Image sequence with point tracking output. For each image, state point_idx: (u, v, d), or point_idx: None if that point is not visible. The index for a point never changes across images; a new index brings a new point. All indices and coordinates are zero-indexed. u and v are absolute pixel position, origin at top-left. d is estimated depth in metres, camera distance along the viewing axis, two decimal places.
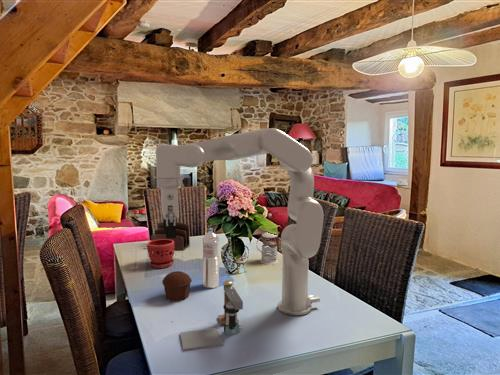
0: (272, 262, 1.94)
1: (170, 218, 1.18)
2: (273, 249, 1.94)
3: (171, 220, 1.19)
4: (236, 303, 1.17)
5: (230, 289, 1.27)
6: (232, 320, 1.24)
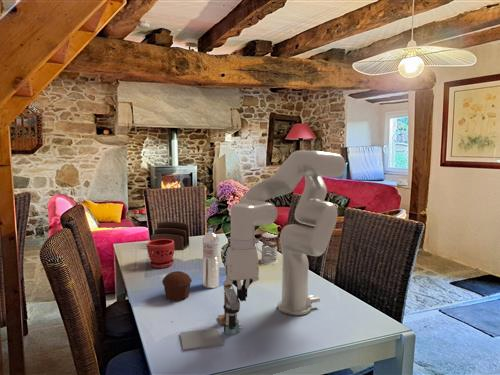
0: (272, 262, 1.94)
1: None
2: (273, 249, 1.94)
3: None
4: (233, 303, 1.17)
5: (229, 290, 1.27)
6: (232, 320, 1.24)
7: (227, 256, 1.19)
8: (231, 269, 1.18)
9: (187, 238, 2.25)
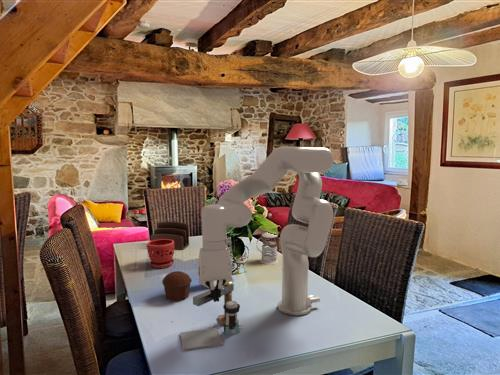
0: (272, 262, 1.94)
1: None
2: (273, 249, 1.94)
3: None
4: (193, 298, 1.21)
5: None
6: (232, 320, 1.24)
7: (199, 257, 1.20)
8: (203, 270, 1.18)
9: (187, 238, 2.25)
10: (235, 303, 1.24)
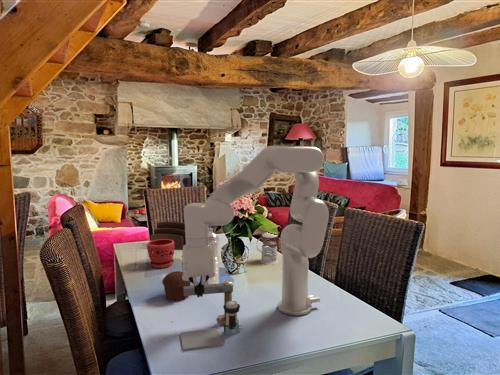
0: (272, 262, 1.94)
1: None
2: (273, 249, 1.94)
3: None
4: None
5: (212, 285, 1.31)
6: (232, 320, 1.24)
7: (183, 254, 1.24)
8: (186, 266, 1.22)
9: None
10: (235, 303, 1.24)
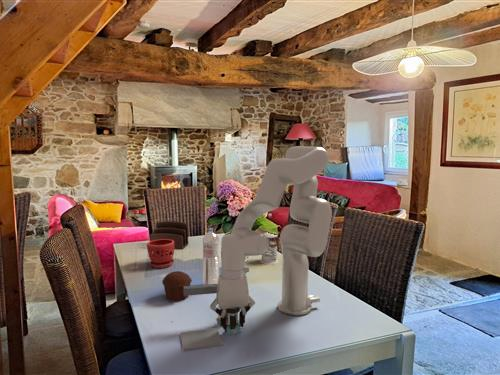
0: (272, 262, 1.94)
1: None
2: (273, 249, 1.94)
3: None
4: None
5: (212, 285, 1.31)
6: (233, 320, 1.24)
7: (218, 285, 1.22)
8: (221, 298, 1.21)
9: (186, 237, 2.26)
10: None
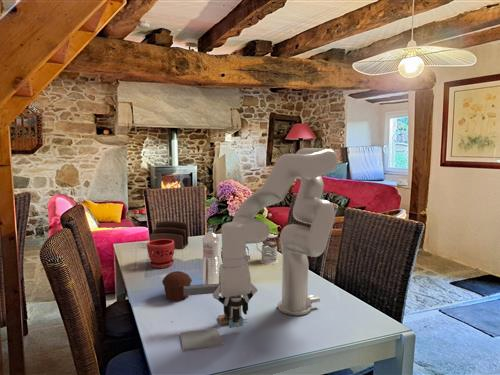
0: (272, 262, 1.94)
1: None
2: (273, 249, 1.94)
3: None
4: None
5: (212, 285, 1.31)
6: (235, 313, 1.24)
7: (220, 274, 1.22)
8: (224, 286, 1.21)
9: (186, 237, 2.27)
10: (239, 296, 1.24)
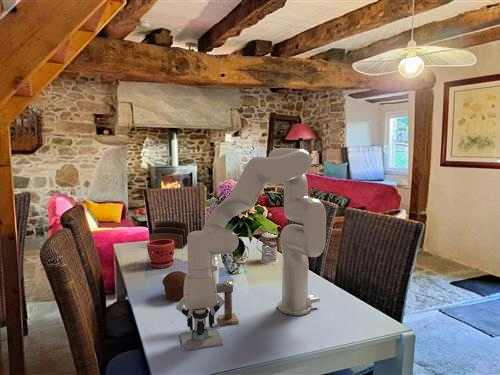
0: (272, 262, 1.94)
1: None
2: (273, 249, 1.94)
3: None
4: None
5: None
6: (200, 326, 1.19)
7: (184, 284, 1.17)
8: (188, 298, 1.16)
9: (185, 237, 2.28)
10: (203, 308, 1.19)
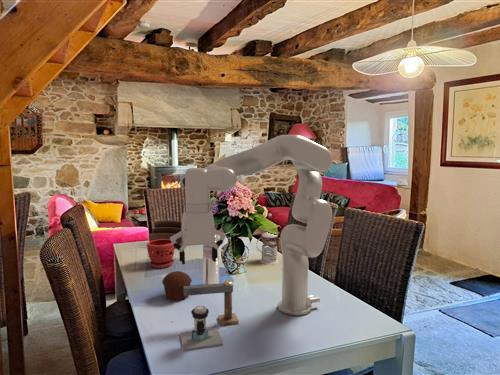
0: (272, 262, 1.94)
1: None
2: (273, 249, 1.94)
3: None
4: None
5: (212, 285, 1.31)
6: (200, 326, 1.19)
7: (182, 221, 1.17)
8: (185, 233, 1.16)
9: None
10: (203, 308, 1.19)
